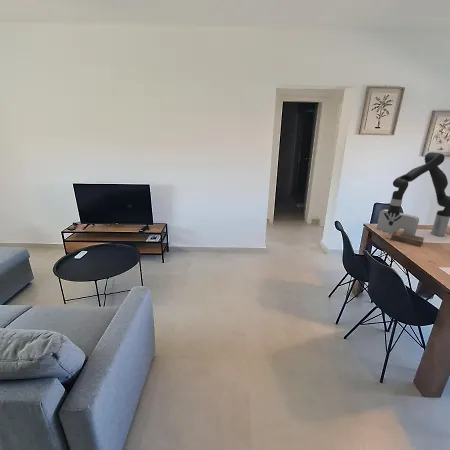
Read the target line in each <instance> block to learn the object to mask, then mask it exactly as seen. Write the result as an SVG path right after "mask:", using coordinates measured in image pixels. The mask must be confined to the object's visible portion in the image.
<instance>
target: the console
mask: <svg viewBox="0 0 450 450" xmlns="http://www.w3.org/2000/svg"><path fill="white" fill-rule="evenodd" d="M396 233H397V232H396V231H395V232H394V233H393V234H391V238H390V241H394V242H398V243H403V244H408V245H410V246H411V245H412V246H416V247H420V248H421V247H422V245H423V243H424V239H425V237H422V236H417V235H415V236H414V235H409V234H405V233H403V234H401V236H398V235H396Z"/></svg>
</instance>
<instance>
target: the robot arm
mask: <svg viewBox="0 0 450 450" xmlns="http://www.w3.org/2000/svg"><path fill="white" fill-rule="evenodd" d="M445 159H446V157H445V154H443V153H441V152H433V151H432V152H428V153H426V154H425V156H424V163H425V164H422V165H420V166H417V167H415V168H412V169H411V170H410V171H408V172H407V173H405V174H403V175H401V176H398V177H397V178H395V179H394V180H393V181H392V186H393V187H395V188H397V190H394V191H393V192H392V195H391V199H390V201H389V202H390V203H389V206H388V209H387V210H388V211H387V212H385V213H384V215H385V217H386V218H387V220H389V225H390V226H392V225H393V222H394V221H397V220H398V219H400V218H401V217H402V215H400V213H401V212H400V211H401V207H402V203H403V199H404V198H403V197H404V195H405V193H406V190H407V189H408V188H409V183H410V182H413V181H414V180H416V179H417V178H419V177H421V176H422V175H424V174H425V173H427V172H428V171H429V175H430V177H431V182H432V185H433V188H434V191H435V196H436V202H437V205H438V206H439V207H443V209H442V210H437V212H436V214H435V215H436V216H435V218H434V222H433V225H432V228H431V233H430V234H431V235H432V236H438V237H444V236H445V234H446V232H447V228H448V225H449V222H450V195H447V194H446V192H445V190H446V189H447V187H448V184H449V180H448V177H447V175H446V174H445V173H444V170H442V169H440V167H439V166H440V165H442V164H443V163H444V161H445ZM388 214H389V216H390V218H389V217H388ZM398 215H399V216H398ZM397 216H398V218H396V219H395V217H397ZM392 217H393V218H392ZM391 220H392V221H391Z"/></svg>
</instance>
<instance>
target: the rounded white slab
mask: <svg viewBox="0 0 450 450" xmlns="http://www.w3.org/2000/svg"><path fill="white" fill-rule="evenodd" d="M388 210H389V209H383V210H380V211H379V215H378V220H377V224H376V229H377V230H378V229H379V230H378V231H381V230H382V232H384V231H385V233H387V234H391V235H393V233H394V232H395V231H396V232H397V230H399V229H400V228H401V229H404V232H403V233H405V234H409V235H414V236H416V233H417V230H418V226H419V223H420V219H419V217H418V216H416V215H411V214H407V213H403V212H400V215H402V217H401V218H400V219H398V220H397V221H394V222H393V225H392V226H390V225H389V220H387V218H386V217H385V215H384V213H385V212H387V211H388ZM398 216H399V215H398ZM398 216H397V217H395V219H396V218H398ZM388 217H389V218H390V216H389V214H388ZM392 218H393V217H392ZM391 221H392V220H391Z"/></svg>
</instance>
